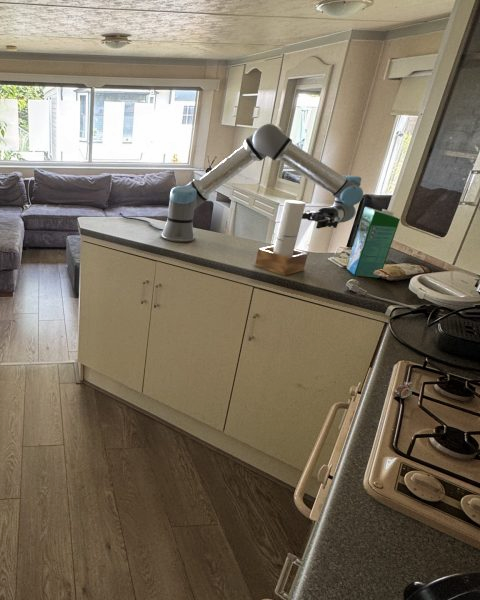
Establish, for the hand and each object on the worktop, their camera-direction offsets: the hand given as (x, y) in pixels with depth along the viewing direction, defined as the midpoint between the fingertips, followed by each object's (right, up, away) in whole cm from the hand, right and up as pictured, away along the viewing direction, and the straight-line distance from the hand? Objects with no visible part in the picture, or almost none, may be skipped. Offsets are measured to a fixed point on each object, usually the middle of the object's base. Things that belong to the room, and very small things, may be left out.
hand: (300, 220), depth 167 cm
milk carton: (+24, -20, +1) cm, 32 cm away
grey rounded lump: (-16, -52, -74) cm, 92 cm away
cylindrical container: (-7, -17, +2) cm, 19 cm away
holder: (-7, -18, +2) cm, 20 cm away
